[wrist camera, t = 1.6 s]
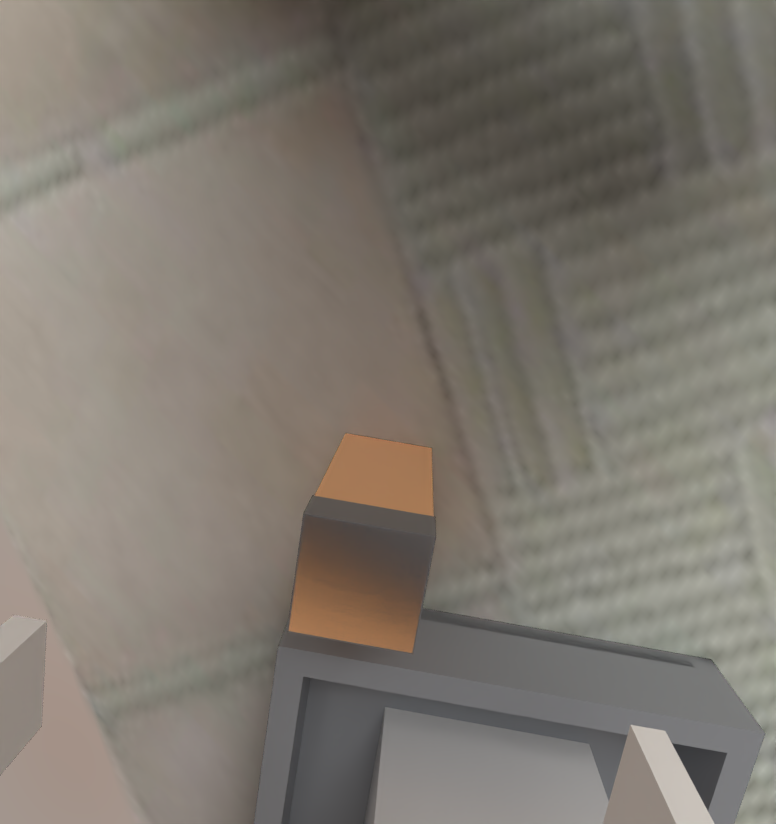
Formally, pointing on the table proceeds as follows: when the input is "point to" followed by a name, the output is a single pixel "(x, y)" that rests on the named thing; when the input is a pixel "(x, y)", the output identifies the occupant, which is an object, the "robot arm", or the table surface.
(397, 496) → the plug
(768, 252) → the table surface
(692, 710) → the box
